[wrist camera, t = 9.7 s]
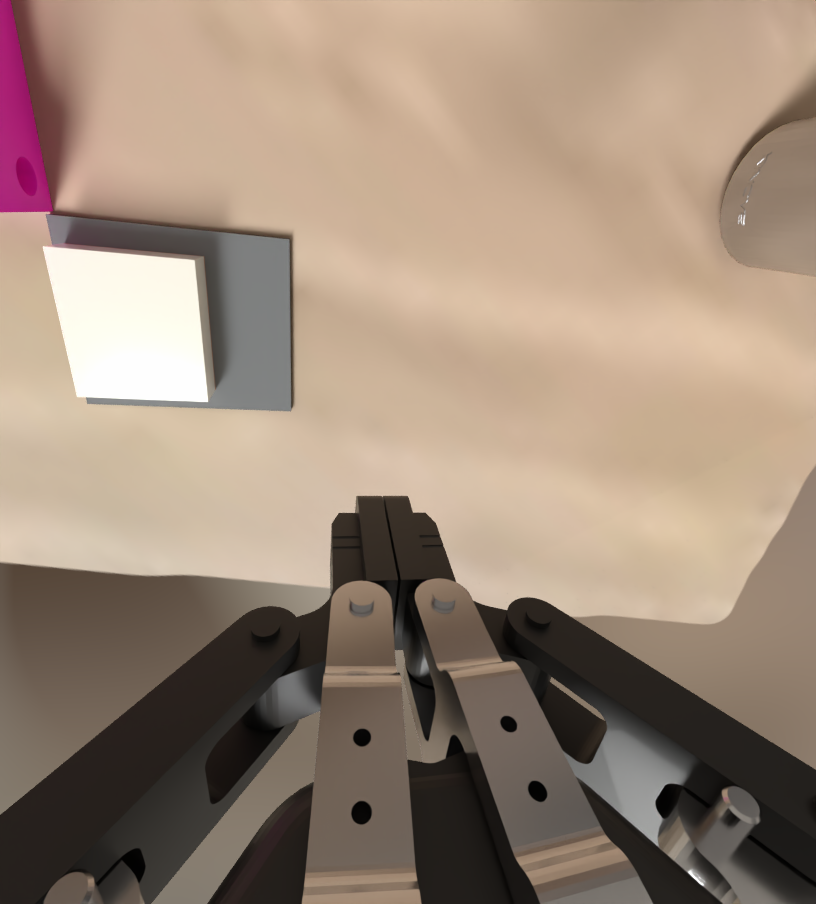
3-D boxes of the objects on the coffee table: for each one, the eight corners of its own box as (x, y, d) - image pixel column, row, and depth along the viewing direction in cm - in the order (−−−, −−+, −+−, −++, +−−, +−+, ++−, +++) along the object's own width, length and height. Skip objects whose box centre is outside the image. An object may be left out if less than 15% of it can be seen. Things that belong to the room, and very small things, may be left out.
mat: (289, 238, 30) (289, 239, 30) (291, 409, 36) (290, 411, 35) (49, 214, 28) (45, 214, 28) (90, 401, 33) (87, 403, 33)
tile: (194, 260, 28) (42, 246, 26) (208, 402, 32) (77, 396, 30) (204, 256, 30) (64, 243, 28) (215, 389, 34) (93, 384, 32)
